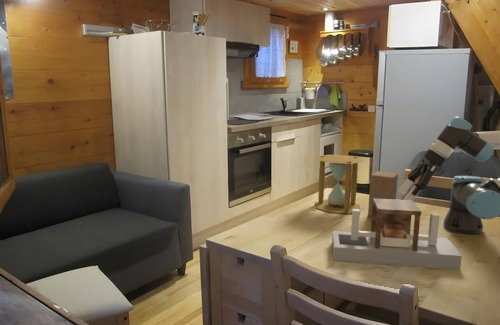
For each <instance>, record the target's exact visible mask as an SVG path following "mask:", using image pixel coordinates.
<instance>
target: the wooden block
mask: <svg viewBox="0 0 500 325" xmlns="http://www.w3.org/2000/svg"><path fill="white" fill-rule="evenodd" d="M398 177H399V174H398V173H396V172H388V171H379V170H377V171H375V172H373V173H371V175H370V181H369V193H368V194H369V196H368V208H367V210H368V212H367V216H368V217H371V218H372V204H373V198H376V199H397V192H398V190H397V189H398V179H399V178H398Z"/></svg>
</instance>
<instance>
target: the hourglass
mask: <svg viewBox="0 0 500 325" xmlns="http://www.w3.org/2000/svg"><path fill="white" fill-rule="evenodd" d="M315 161H319V169H318V170H319V172H318V196H317V197H318V201H315V202H314V209H318V210H322V211H325V212H328V213H334V214H335V213H339V214H349V215H350V214H352V209H359V210H360V211H361V206H360V204H359V203H356V201H357V200H356V199H357V187H358V169H359V168H358V166H359V163H363V162H364V161H363V158H362V157H359V156H352V155H345V154H343V155H342V154H326V155H325V154H324V155H318V156H316V158H315ZM326 163H329V169H330V171H331V173H332V174H333V177H334V179H335V180H336V184H334V185H335V186H334V187H333V188H332V190H331V191H330V193H329V194H328V196H327V199H324V195H325V178H326V177H325V175H326V172H325V171H326ZM344 175H345V180H344V181H345V182H344V190H343V188H342V186H341V184H340V181H341V180H342V179H343V177H344Z"/></svg>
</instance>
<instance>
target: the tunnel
mask: <svg viewBox="0 0 500 325" xmlns="http://www.w3.org/2000/svg"><path fill="white" fill-rule="evenodd" d="M421 214H422V211H421V209H420V208H419V207H418V205H417V204H416V203H415V202H414V200H404V199H397V198H396V199H376V198H373V204H372V217H371V220H370V221H371V222H370V231H371V232H376V235H375V248H377V249H379V248H380V234H381V228H383V229H384V224H401V225H402V227H403V229H404V230H405V231H406V233H407V234H411V227H412V226H411V225H412V216H414V223H413V230H412V231H413V233H412V234H413V243H412V251H417V246H418V236H419V234H420V225H421V216H422V215H421Z"/></svg>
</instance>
